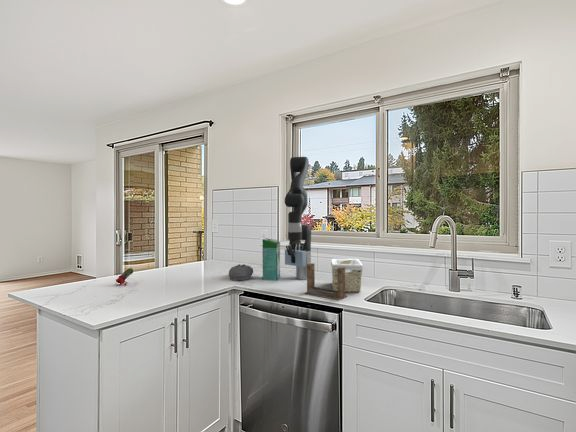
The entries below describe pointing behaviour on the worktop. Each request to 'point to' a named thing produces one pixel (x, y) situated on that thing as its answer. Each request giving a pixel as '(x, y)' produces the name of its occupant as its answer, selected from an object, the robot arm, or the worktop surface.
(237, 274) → the grey rounded bag
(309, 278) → the wooden u-shaped rack
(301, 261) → the light blue block
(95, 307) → the worktop surface
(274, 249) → the milk carton
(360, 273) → the storage basket
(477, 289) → the worktop surface
